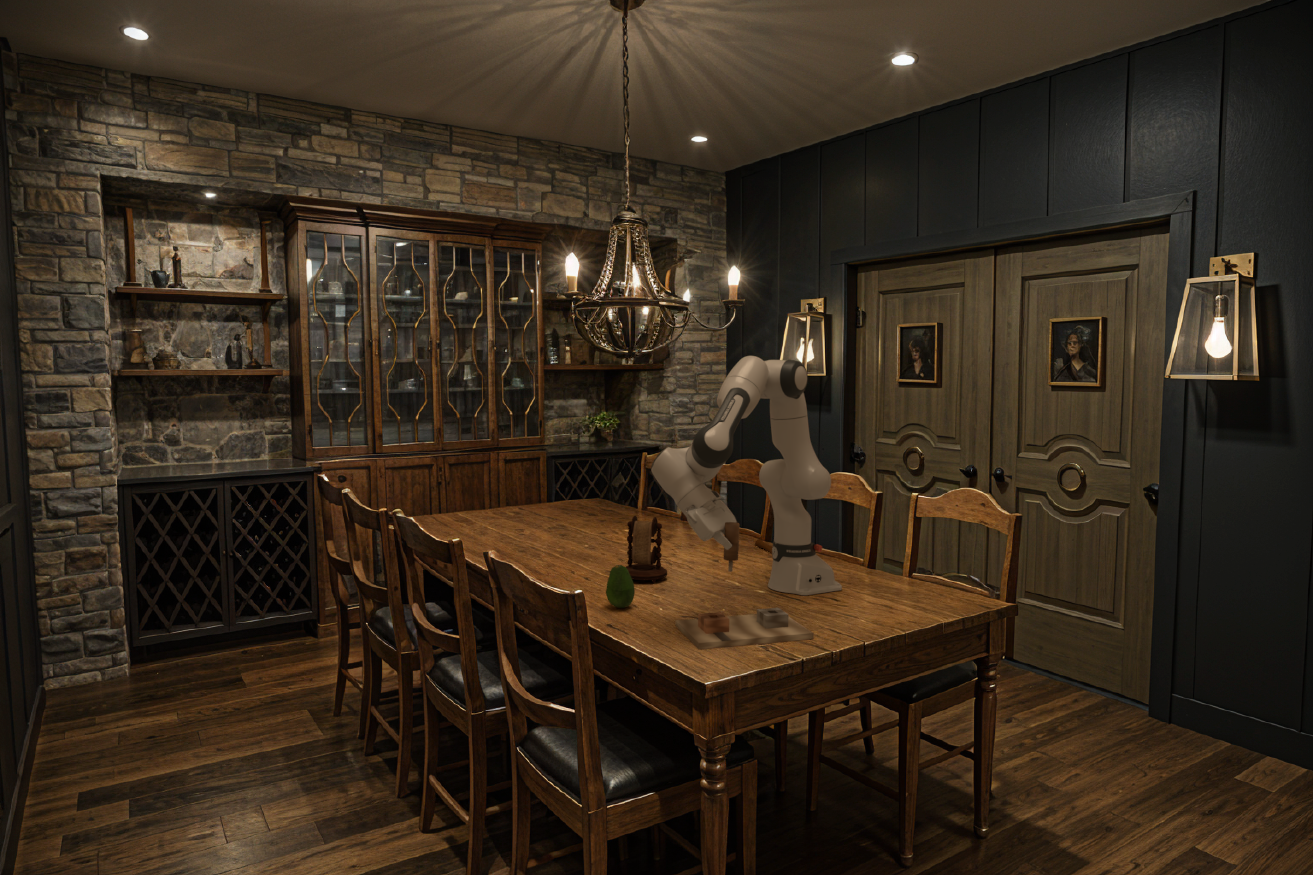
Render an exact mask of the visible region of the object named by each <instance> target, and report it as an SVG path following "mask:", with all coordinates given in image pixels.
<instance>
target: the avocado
mask: <svg viewBox="0 0 1313 875" xmlns="http://www.w3.org/2000/svg"><path fill="white" fill-rule="evenodd" d="M608 575H609V576H608V579H607V583H606V588H605V589H606V590H605V594H606V599H607V600H608V602H609V604H610V605H611V606H613V607H615V608H619V609H625V608H627V607H629V606H630V605H631V604H632V603H633V601H634V597H635V594H636V591H635V583H634V580H633V579H632V578H631V576H630V574H629V571H628V570H627V568H626V566H624V565H623V564H617V565H615V566H613V567H612V568H611V569H610V572H609V574H608Z"/></svg>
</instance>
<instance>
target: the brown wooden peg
mask: <svg viewBox="0 0 1313 875" xmlns="http://www.w3.org/2000/svg"><path fill="white" fill-rule="evenodd" d="M723 536H725V537H726V538H727V539H728V540H730V541H731V543H732V544H733V546H732V547H731V548H730V549H728V550H726V549H725V548H724V547H723V560H724V561H728V572H733V566H734V565H733V564H734V562H735V561H738V560H739V545H740V523H739V522H737V523H736V522H726V523H725V535H724V534H723Z"/></svg>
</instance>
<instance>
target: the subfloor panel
mask: <svg viewBox="0 0 1313 875" xmlns="http://www.w3.org/2000/svg"><path fill="white" fill-rule="evenodd" d="M675 627H676V628H677V629H678V630H679V631H680V632H681V634H683V635H684V637H686V638H687V639H688V640H689V641H690V643H692V644H693V645H694V646H695V647H696V649H698V650H705V649H706V650H707V649H717V648H729V647H738V646H739V647H741V646H750V645H759V644H772V643H784V642H795V641H805V640H814V638H815V636H814V635H815V634H814V632H813V631H812V630H810V629H808V627H807V628H806V627H805V626H804V625H802V624H801V623H799V622H797V621H796V620H795V619H793V618H792V617H790V616H789V613H787V612H786V611H785V610H783V609H781V608H780V607H771V608H770V607H769V608H757V609H756V613H754V614H753V613H752V614H751V613H750V614H742V615H741V614H740V615H739V614H737V615H727V616H726V615H725V614H723V613H722V611H718V612H706V613H705V612H703V613H698V614H697V618H689V619H676V620H675Z"/></svg>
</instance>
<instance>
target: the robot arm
mask: <svg viewBox="0 0 1313 875" xmlns="http://www.w3.org/2000/svg"><path fill="white" fill-rule="evenodd" d="M808 380H809V375H808V370H807V368H806V367H805V365H804V364H803V362H802V361H798V360H796V359H795V360H794V359H784V360H783V359H768V360H763V359H762V358H760V357H758V356H755V355H747V356H744V357H742V358H741V359H739V361H737V363H735V365H734V366H733V367H732V369H731V370H730V371H729V372H728V374H727V376H726V377H725V379H724V381H723V382H722V384H721V386H720V388H719V391H718V394H717V399H716V404H717V406H718V410H717V412H716V414H715V415H714V416H713V419H712V420H711V422H710V423H708V424H707V425H705V426H703V427H702V428H701V429H699V430H698V431H697V432H696V433H695V435H694V438H693V440H692V443H691V445H690V446H686V447H680V448H673V447H670V446H667V447H665V448H663V449H662V450H661V451H660V452H659V453H658V454H657V456H656V457H655V458H654V460H653V461H652V464H651V467H650V470H651V473H652V475H653V477H654V478H655V480H656V481H657V483H658V484H659V486H660V487H661V488H662V490H664V492H665V493H666V494H667V495H669V496H670V497H671V498H672V499H673V500H674V503H675V504H676V506H677V507H678V509H679V510H680V511H681V512H682V514H683V515H684V516H685V518H686V520H687V523H688V524H689V526H690V527H691V529H692V530H693V532H694V533H695V534H696V535H697V537H698V538H699V539H700V540H701V541H702V542H706V541H709V540H711V539H714V540H715V541H716V542H717V543H718V544H719V545H720V546H723V549H724V548H725V549H726V550H728V549H730V548H731V547H732V546H733V544H732V543H731V541H730V540H728V539H727V538H726V537H725V536H724V535H725V523H726V522H736V523H738V521H737V518H736V516H735V515H734V514H733V512H732V511H731V509H729V507H728V505H727V504H726V503H725V502H724V501H722V500H721V495H720V493H718V491H715V490H712V489H710V488H709V487H708V486H706V484H705V483H707V482H709V481H711V480H712V479H714V478H715V477H716V476H717V475H718V473H719V471H720V470H721V468H722V467H723V465H724V464H725V463H726V462H727V461H728V460H729V458H730V457H732V454H733V451H734V436H735V435H734V434H735V432H736V430H737V427H738V426H739V424H740V422H741V420H742V419H746V418H748V417H749V415H751V413H752V412H753V411H754V409H755V408H756V407H757V405H758V404H759V401H760V400H761V399H763V400H765V399H767V400H768V399H769V416H770V417H769V418H770V427H771V428H770V430H771V442H772V444H773V445H774V447H775V448H776V449H777V450H778V451H779V452H780V454H781V456H782V457H783V458H780V459H779V458H778V459H771V460H768V461H765V462H764V463H763V464H762V465H761V468H760V470H759V473H758V474H759V475H758V478H759V483H760V485H761V486H762V488H763V489H764V490H765V491H766V493H767V496H768V499H769V501H770V504H771V507H772V510H773V511H772V513H773V518H774V519H773V520H774V521H773V523H774V524H773V527H774V528H773V529H774V532H773V533H774V534H773V536H774V537H773V538H774V539H773V541H772V547H773V548H772V554H771V555H772V566H771V572H770V577H769V580H768V582H767V583H768V584H767V587H768V588H769V589H770V590H773V591H777V592H780V593H781V592H782V593H786V594H788V593H789V594H794V595H795V594H796V595H801V596H808V595H809V596H811V595H816V594H824V593H830V592H838V591H842V590H843V586H842V584H841V583H840V582H838V581H836V580H835V573H834V570H833V568H832V567H831V565H830V564H828V563H827V562H826V561H825V560H823V559H822V558H821V557H820V556H818V554H817V553H816V552H819V553H820V552H822V551H823V546H822V545H820V544H818V543H817V544H815V543H814V542H812V517H811V515H810V513H809V512H808V511H807V510H806V509H805V507H804V505H803V502H802V500H807V501H808V500H809V501H810V500H812V501H814V500H821V499H823V498H825V497H826V496H827V495H828V493H829V492H830V490H831V486H832V477H831V474H830V472H829V471H828V469H827V468H826V467H825V466H823V464H822V463H821V462H820V460H819V458H818V456H817V454H816V452H815V450H814V447H813V445H812V444H813V443H812V442H811V438H810V437H811V435H810V427H809V419H808V409H807V402H806V397H805V393H804V392H805V391H806V388H807V385H808Z"/></svg>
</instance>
